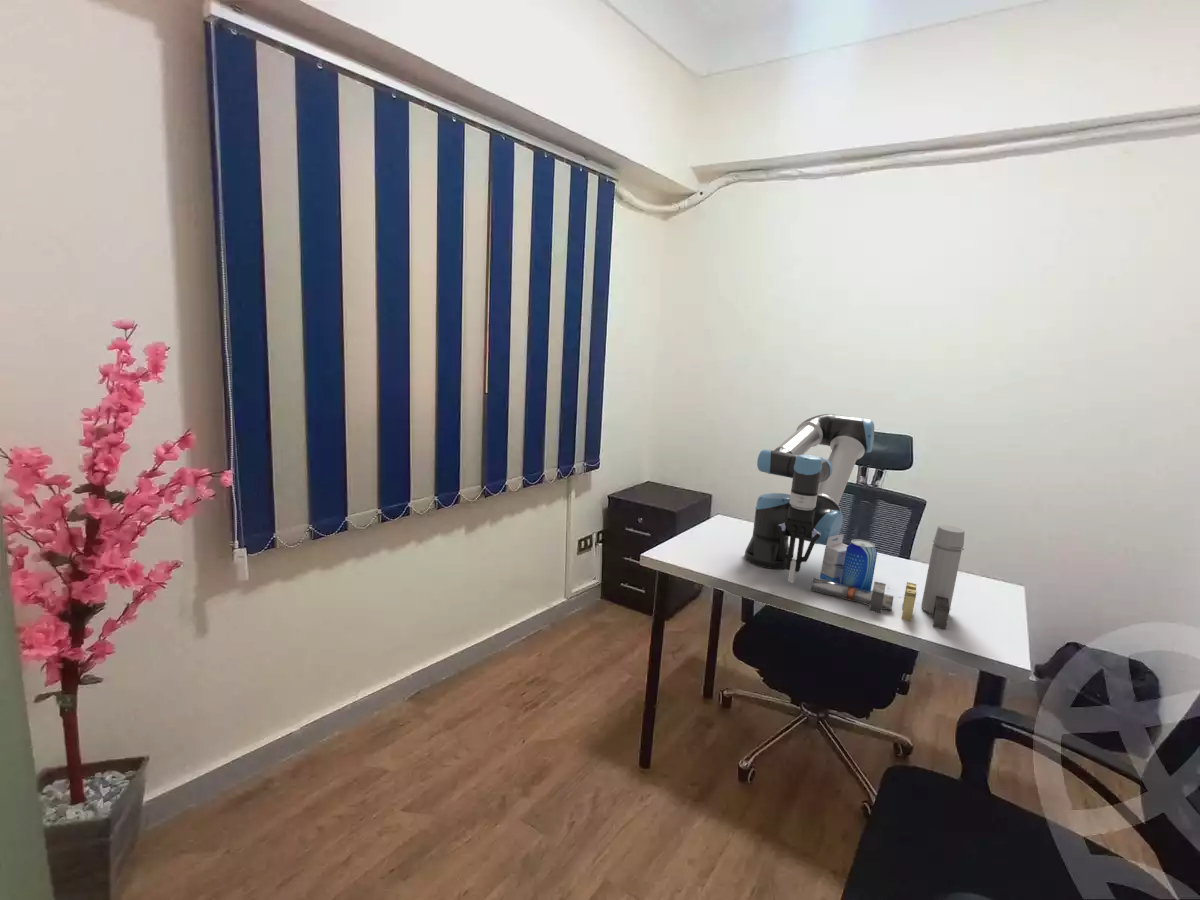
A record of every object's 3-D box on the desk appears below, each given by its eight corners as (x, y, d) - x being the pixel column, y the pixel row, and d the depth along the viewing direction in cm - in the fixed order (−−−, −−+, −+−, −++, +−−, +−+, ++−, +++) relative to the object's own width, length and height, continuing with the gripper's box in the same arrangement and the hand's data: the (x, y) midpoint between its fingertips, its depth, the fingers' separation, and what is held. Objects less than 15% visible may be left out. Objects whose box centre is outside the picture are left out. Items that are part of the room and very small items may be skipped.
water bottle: (938, 618, 167) (954, 534, 163) (914, 606, 174) (929, 525, 170) (960, 614, 171) (977, 531, 166) (935, 603, 178) (951, 523, 173)
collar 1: (869, 610, 169) (872, 590, 168) (871, 600, 177) (874, 581, 175) (880, 613, 168) (884, 593, 167) (882, 603, 175) (885, 583, 174)
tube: (810, 590, 179) (812, 577, 179) (811, 590, 182) (814, 577, 183) (891, 610, 169) (893, 596, 169) (891, 609, 172) (893, 595, 173)
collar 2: (932, 626, 162) (936, 606, 161) (932, 615, 169) (936, 595, 168) (945, 629, 161) (949, 609, 160) (944, 618, 168) (948, 598, 167)
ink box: (832, 587, 184) (840, 542, 181) (818, 580, 188) (826, 536, 185) (848, 582, 189) (857, 538, 186) (835, 576, 193) (843, 533, 190)
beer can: (833, 588, 183) (841, 539, 180) (854, 585, 187) (862, 537, 184) (855, 600, 176) (863, 549, 173) (876, 597, 179) (884, 546, 176)
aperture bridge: (901, 618, 166) (906, 591, 164) (902, 607, 173) (907, 582, 171) (911, 621, 165) (916, 594, 163) (911, 610, 172) (916, 584, 170)
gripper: (777, 505, 178) (767, 579, 182) (823, 513, 172) (811, 590, 177) (782, 500, 185) (772, 571, 189) (826, 508, 179) (815, 582, 183)
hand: (791, 580), depth 183 cm, fingers closed
